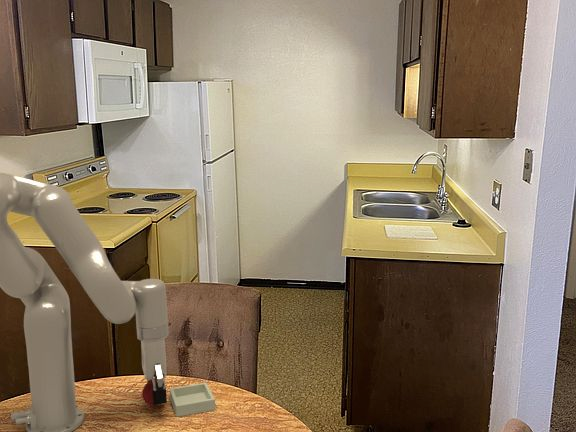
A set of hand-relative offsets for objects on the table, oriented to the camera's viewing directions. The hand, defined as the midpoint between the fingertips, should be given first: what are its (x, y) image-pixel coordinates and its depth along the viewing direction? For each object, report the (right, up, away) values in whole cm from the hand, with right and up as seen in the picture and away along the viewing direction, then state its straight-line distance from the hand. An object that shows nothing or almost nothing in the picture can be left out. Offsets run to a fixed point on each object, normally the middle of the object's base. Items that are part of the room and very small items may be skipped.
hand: (157, 394), depth 141 cm
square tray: (+8, -3, +2) cm, 9 cm away
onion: (-1, -3, 0) cm, 3 cm away
